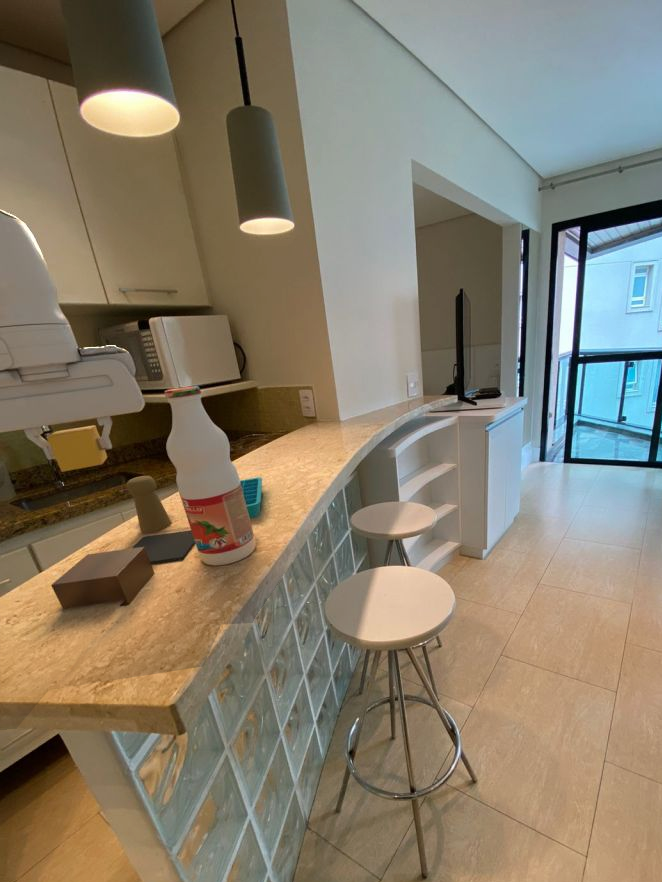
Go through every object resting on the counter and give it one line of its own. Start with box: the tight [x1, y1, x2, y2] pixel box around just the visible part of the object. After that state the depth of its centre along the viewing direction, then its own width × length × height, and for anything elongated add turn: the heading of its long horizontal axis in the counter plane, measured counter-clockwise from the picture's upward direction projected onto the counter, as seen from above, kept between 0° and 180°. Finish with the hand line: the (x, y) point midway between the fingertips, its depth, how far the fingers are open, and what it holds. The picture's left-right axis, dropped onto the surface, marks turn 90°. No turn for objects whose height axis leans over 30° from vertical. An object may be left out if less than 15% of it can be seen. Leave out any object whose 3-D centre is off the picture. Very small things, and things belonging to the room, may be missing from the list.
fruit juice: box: [164, 385, 257, 566], centre depth 66 cm, size 9×9×28 cm
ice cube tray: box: [240, 476, 263, 519], centre depth 93 cm, size 12×20×3 cm, turn 14°
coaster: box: [131, 529, 196, 565], centre depth 76 cm, size 12×12×1 cm
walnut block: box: [50, 547, 155, 610], centre depth 62 cm, size 9×9×5 cm
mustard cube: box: [46, 424, 108, 473], centre depth 59 cm, size 5×5×5 cm
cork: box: [126, 475, 172, 534], centre depth 85 cm, size 6×6×11 cm
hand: (81, 453), depth 59 cm, fingers closed on mustard cube, 5 cm apart
